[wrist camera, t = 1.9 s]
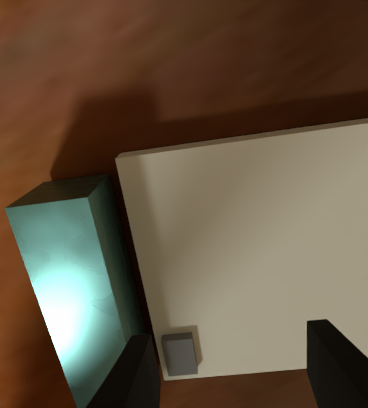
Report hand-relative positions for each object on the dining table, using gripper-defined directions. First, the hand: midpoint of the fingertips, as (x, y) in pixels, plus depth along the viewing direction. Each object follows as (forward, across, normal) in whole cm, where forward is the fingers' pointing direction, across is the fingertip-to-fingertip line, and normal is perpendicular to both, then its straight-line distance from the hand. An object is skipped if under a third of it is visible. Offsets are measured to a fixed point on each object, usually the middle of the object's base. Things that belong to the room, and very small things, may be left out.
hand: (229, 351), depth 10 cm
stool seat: (+10, -3, +3) cm, 11 cm away
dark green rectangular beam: (+10, +8, +4) cm, 13 cm away
